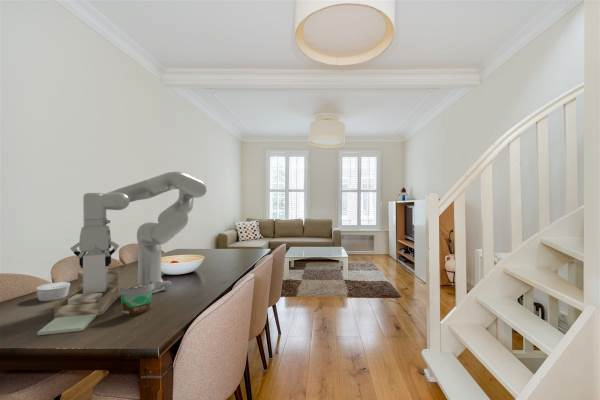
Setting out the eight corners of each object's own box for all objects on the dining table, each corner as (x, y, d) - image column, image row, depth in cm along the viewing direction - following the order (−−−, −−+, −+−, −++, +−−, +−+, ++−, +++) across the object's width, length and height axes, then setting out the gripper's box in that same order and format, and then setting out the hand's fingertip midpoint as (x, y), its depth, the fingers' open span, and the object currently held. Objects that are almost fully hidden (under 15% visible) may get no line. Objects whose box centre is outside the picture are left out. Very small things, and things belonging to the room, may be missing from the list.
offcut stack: (103, 307, 112) (103, 292, 112) (96, 313, 106) (96, 297, 106) (72, 309, 109) (72, 294, 109) (64, 316, 103) (64, 299, 103)
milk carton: (83, 294, 111) (82, 246, 111) (86, 289, 117) (86, 243, 117) (105, 292, 114) (104, 244, 114) (107, 287, 120) (107, 242, 120)
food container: (127, 319, 100) (127, 291, 100) (118, 316, 103) (118, 288, 103) (160, 308, 110) (160, 283, 110) (151, 305, 114) (151, 280, 114)
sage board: (95, 316, 102) (95, 313, 102) (81, 330, 91) (81, 327, 91) (56, 320, 99) (56, 317, 99) (37, 335, 88) (37, 332, 88)
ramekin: (50, 303, 115) (50, 290, 115) (28, 301, 117) (28, 288, 117) (76, 294, 126) (76, 282, 126) (56, 292, 128) (56, 281, 128)
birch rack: (118, 297, 123) (118, 269, 123) (101, 314, 104) (102, 281, 104) (78, 300, 118) (79, 271, 118) (54, 319, 100) (54, 284, 100)
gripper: (122, 221, 122) (122, 262, 122) (73, 223, 116) (74, 265, 117) (116, 223, 114) (117, 266, 115) (64, 224, 109) (65, 270, 109)
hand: (95, 266), depth 116 cm, fingers closed on milk carton, 7 cm apart
